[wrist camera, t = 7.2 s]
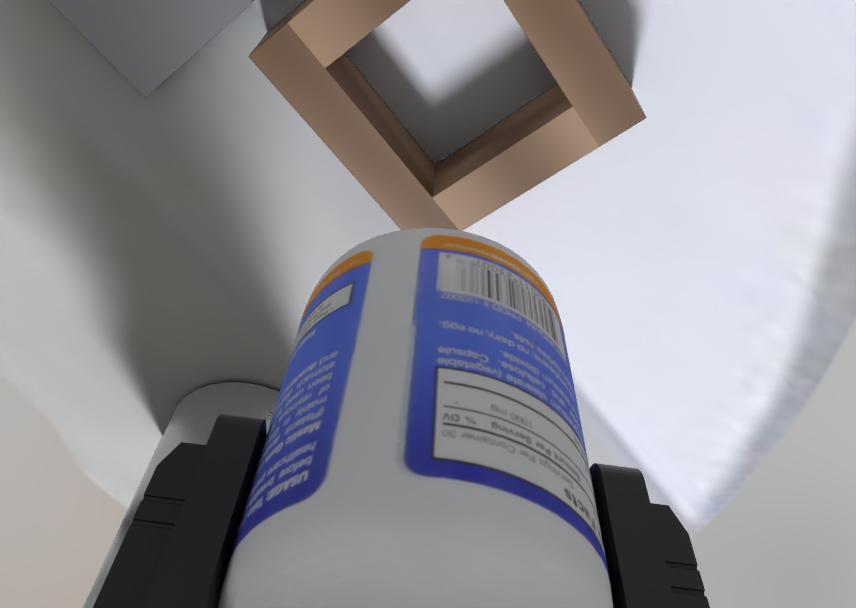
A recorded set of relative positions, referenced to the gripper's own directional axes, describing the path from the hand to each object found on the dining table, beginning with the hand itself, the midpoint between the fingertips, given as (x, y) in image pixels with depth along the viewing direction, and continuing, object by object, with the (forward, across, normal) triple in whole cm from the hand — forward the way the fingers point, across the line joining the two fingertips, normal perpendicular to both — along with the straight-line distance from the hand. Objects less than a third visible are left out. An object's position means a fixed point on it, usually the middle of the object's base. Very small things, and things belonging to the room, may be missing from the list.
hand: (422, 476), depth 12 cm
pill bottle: (+4, 0, 0) cm, 4 cm away
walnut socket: (+21, 0, 0) cm, 21 cm away
